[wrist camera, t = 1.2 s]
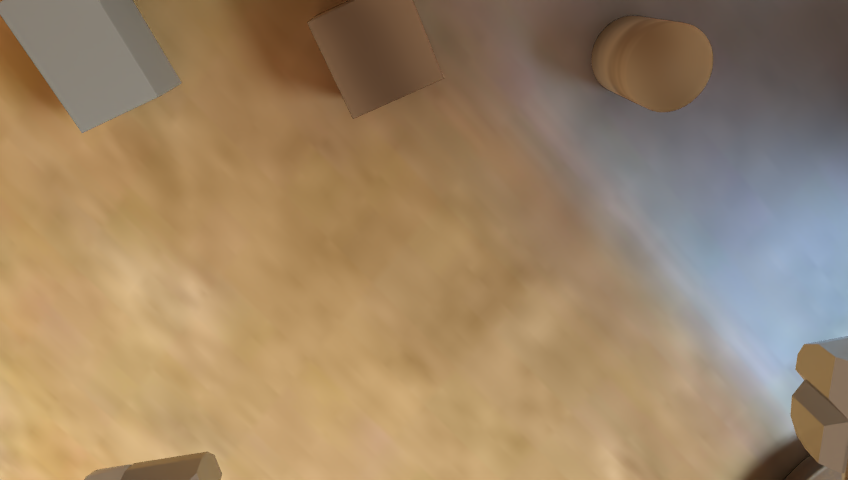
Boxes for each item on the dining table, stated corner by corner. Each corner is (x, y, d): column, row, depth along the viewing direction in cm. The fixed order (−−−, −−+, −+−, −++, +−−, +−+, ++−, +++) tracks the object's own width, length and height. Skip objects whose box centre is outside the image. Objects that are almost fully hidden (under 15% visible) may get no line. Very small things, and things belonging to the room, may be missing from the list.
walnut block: (398, -23, 30) (403, -23, 26) (433, 63, 32) (444, 78, 27) (316, 15, 30) (307, 22, 26) (355, 98, 32) (352, 119, 28)
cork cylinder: (654, 2, 32) (703, 7, 27) (672, 75, 33) (720, 91, 29) (582, 34, 32) (617, 44, 27) (602, 104, 33) (639, 125, 29)
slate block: (112, -35, 29) (75, -37, 25) (182, 82, 31) (158, 97, 28) (40, 1, 29) (-7, 5, 26) (114, 115, 32) (81, 133, 28)
